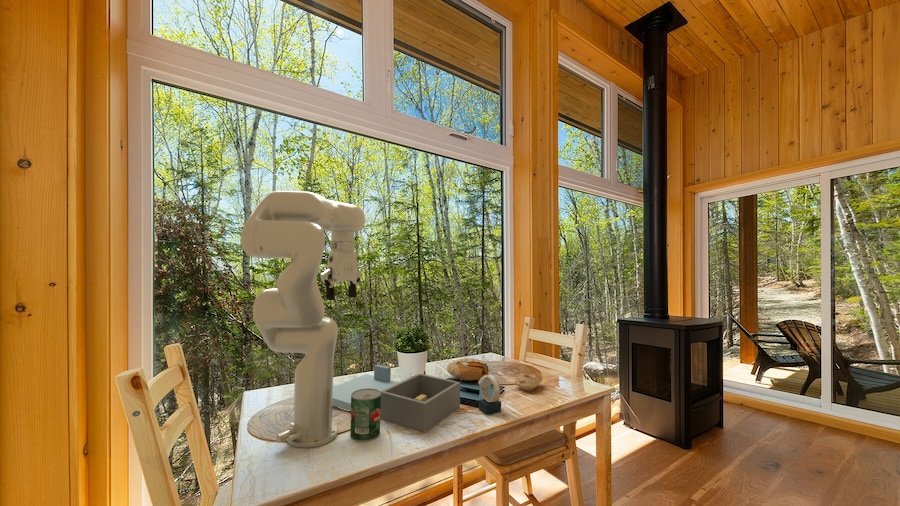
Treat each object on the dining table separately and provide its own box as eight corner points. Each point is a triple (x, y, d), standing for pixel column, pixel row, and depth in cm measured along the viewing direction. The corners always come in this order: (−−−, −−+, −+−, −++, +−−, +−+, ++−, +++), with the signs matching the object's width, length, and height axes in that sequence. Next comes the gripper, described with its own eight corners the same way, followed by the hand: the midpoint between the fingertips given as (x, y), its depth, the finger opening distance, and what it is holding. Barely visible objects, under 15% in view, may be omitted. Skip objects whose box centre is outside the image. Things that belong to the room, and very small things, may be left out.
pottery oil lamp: (550, 386, 136) (551, 372, 132) (527, 403, 130) (527, 389, 127) (533, 372, 142) (533, 359, 139) (510, 387, 137) (510, 374, 133)
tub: (424, 433, 99) (425, 403, 99) (379, 419, 107) (379, 391, 107) (459, 407, 116) (460, 382, 116) (418, 396, 124) (419, 373, 124)
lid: (359, 415, 109) (360, 389, 109) (316, 401, 119) (317, 377, 119) (406, 391, 129) (406, 369, 129) (366, 381, 139) (366, 360, 139)
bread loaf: (506, 386, 137) (476, 397, 128) (469, 368, 154) (440, 376, 145) (507, 366, 137) (477, 375, 128) (469, 350, 154) (441, 357, 144)
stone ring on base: (489, 404, 119) (490, 370, 119) (504, 414, 112) (505, 378, 112) (475, 407, 116) (475, 373, 117) (489, 417, 109) (489, 381, 109)
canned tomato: (348, 430, 100) (349, 390, 100) (376, 425, 103) (377, 386, 103) (352, 444, 92) (353, 401, 92) (383, 439, 95) (384, 397, 96)
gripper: (330, 246, 113) (328, 301, 113) (368, 248, 128) (367, 297, 128) (313, 246, 117) (312, 300, 117) (353, 248, 132) (352, 295, 132)
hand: (341, 298), depth 122 cm, fingers open, 9 cm apart
